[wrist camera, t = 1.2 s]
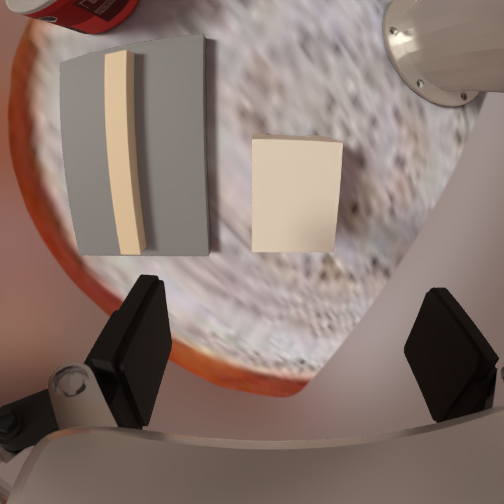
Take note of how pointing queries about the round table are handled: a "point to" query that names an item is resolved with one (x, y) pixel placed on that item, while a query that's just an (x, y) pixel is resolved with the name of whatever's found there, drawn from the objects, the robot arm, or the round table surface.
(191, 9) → the round table surface
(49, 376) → the robot arm
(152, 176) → the mount board
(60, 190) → the round table surface
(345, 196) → the round table surface
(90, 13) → the canned food
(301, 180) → the cabinet block
